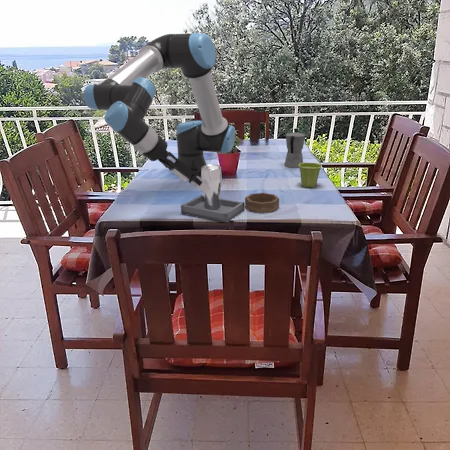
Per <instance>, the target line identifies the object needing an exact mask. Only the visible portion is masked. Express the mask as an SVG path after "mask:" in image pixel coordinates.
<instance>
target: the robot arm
mask: <svg viewBox="0 0 450 450" xmlns="http://www.w3.org/2000/svg"><path fill="white" fill-rule="evenodd" d="M216 59H217V58H216V49H215V45H214V42H213V40H212V39H211V37H210V36H209V35H208V34H206V33H199V32H192V33H174V34H173V33H168V34H164V35H161V36H159V37H157V38H154V39H153V40H150V41H149V42H148V43H146V44H145V45H144V46H142V47H141V48H140V50H139V51H138V54H137V55H136V56H134V57H133V58H132V59H130V60H129V61H128V62H127V63H125V64H124V65H123V66H122V67H120V68H119V69H118V70H116V71H115V72H113V74H111V75H110V76H109V77H107V78H106V79H105V80H103V81H102V82H101V83H99V84H97V83H93V84H88V85H87V86H86V87H85V88H84V90H83V100H84V103H85V105H86V106H87V107H88V108H89V109H92V110H98V111H105V114H104V118H103V119H104V122H105V123H106V124H107V126H109V127H110V128H111V129H112V130H113V131H114V132H115V133H117V134H118V135H120V137H122V138H123V139H124V140H125V141H126V142H128V143H130V145H132V146H133V150H135V151H137V150H138V151H139V152H140V153H142V155H144V157H146V158H147V159H148V160H149V161H150V162H155V161H158V162H159V163H161V164H162V165H163V167H165V168H166V169H168V170H169V171H171V172H172V173H173V174H174V175H175V176H176V177H178V179H180V180H181V181H182V182H183V183H186V182H187V181H188V183H189V184H193V185H194V186H195V187H196V188H197V189H199V191H200V192H202V193H203V194H204V192H205V191H206V190H207V188H208V187H209V186H208V185H207V184H206V183H205V182H204V181H203V180H202V179H201V171H202V166H205V165H207V161H206V159H205V156H204V152H209V153H218V154H220V153H221V154H223V153H225V154H226V153H230V152H231V151H232V150H233V147H234V144H235V142H236V141H235V139H236V128H235V126H233V125H229V122H228V120H227V119H226V118H225V117H223V114H222V110H221V107H220V102H219V99H218V96H217V92H216V88H215V85H214V80H213V77H212V73H211V71H212V70H213V67H214V66H215V63H216ZM163 69H180V70H181V72H182V75H183V76H184V77H185V78H186V79H188V80H189V83H190V87H191V89H192V93H193V96H194V99H195V102H196V106H197V108H198V112H199V116H200V118H201V120H191V121H184V122H181V123H179V124H177V126H176V133H175V134H176V144H177V145H176V146H177V157H176V156H175V155H174V154H173V153H172V152H171V151H168V150H167V149H168V142H167V141H166V140H165V139H164V138H163V137H161V136H160V135H159V134H158V133H157V132H156V131H155V130H154V129H152V127H151V126H150V125H149V124H147V123H146V122H145V121H144V118H145V116H146V115H147V112H148V110H149V109H150V107H151V105H152V103H153V100H154V98H155V95H156V92H157V91H156V87H155V85H154V83H153V82H152V81H151V80H149V79H148V77H149V76H151V74H153V73H157V72H159V71H161V70H163Z"/></svg>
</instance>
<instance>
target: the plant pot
mask: <svg viewBox="0 0 450 450" xmlns="http://www.w3.org/2000/svg"><path fill="white" fill-rule="evenodd" d="M298 166H299V168H298V169H299V172H300V184H301V186H302V187H305V188H315V187H317V184H318V179H319V174H320V171H321V168H323V165H322V164H321V163H317V162H303V163H300V164H299V165H298Z"/></svg>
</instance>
